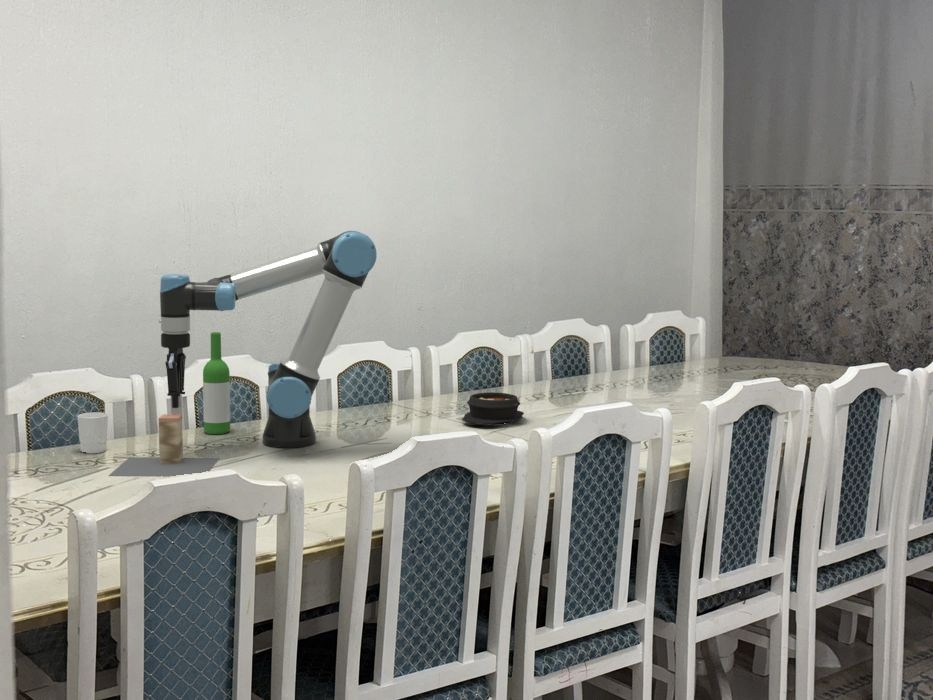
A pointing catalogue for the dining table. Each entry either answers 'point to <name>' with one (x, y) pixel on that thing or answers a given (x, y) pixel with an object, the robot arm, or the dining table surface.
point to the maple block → (170, 439)
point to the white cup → (93, 432)
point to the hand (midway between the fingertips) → (176, 418)
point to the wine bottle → (216, 390)
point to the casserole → (493, 408)
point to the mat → (163, 467)
